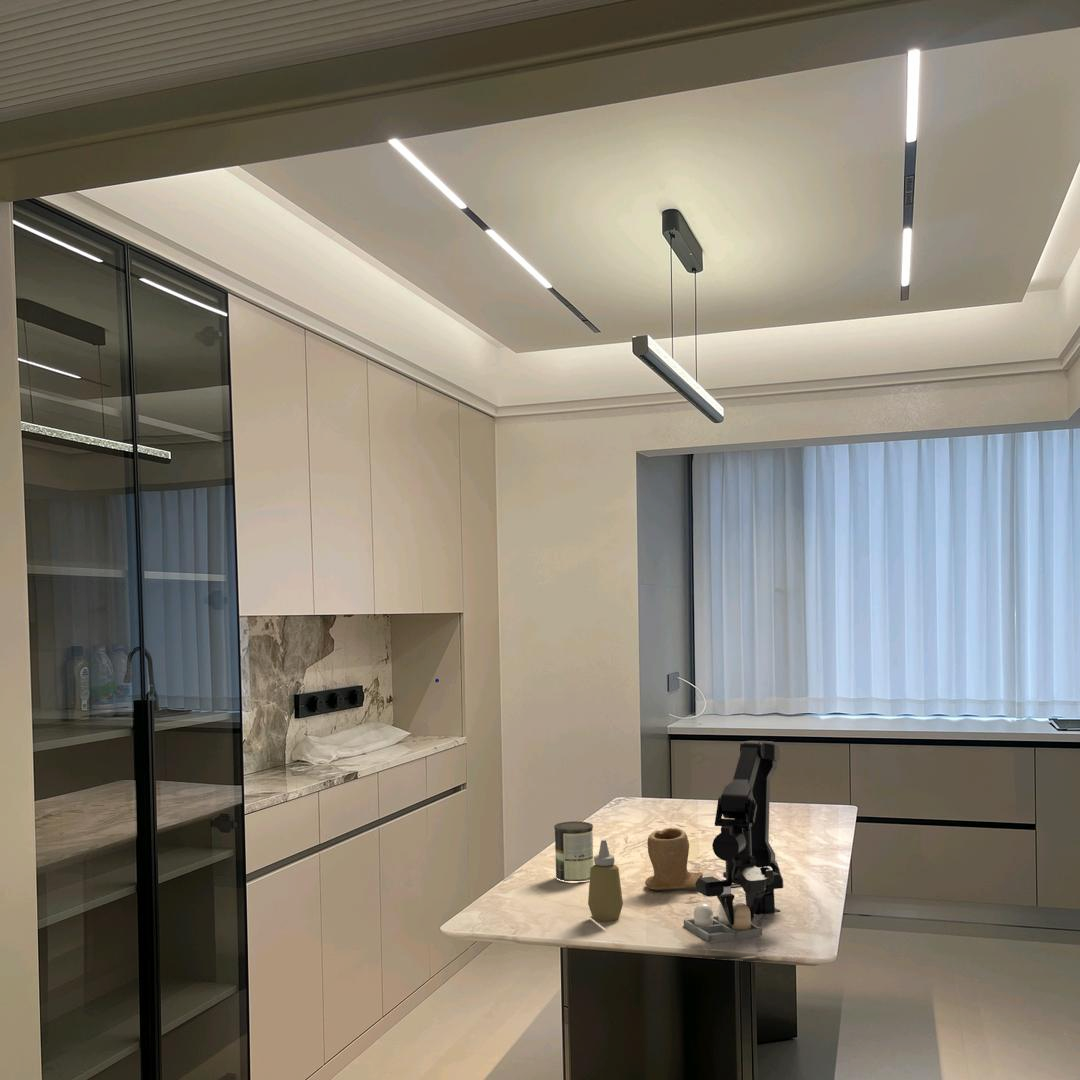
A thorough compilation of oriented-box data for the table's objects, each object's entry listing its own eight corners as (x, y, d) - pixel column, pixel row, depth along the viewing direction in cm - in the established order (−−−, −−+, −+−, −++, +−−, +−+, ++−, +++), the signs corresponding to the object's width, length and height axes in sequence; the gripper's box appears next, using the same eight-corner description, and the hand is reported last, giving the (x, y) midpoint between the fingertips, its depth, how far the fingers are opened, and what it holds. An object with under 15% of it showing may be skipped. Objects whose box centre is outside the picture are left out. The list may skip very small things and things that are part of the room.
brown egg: (728, 926, 233) (727, 902, 233) (745, 924, 234) (744, 900, 235) (737, 932, 229) (736, 907, 229) (754, 929, 230) (753, 904, 231)
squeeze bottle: (607, 912, 251) (605, 835, 252) (630, 920, 245) (628, 840, 246) (581, 919, 246) (579, 840, 247) (604, 927, 240) (602, 846, 241)
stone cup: (647, 896, 265) (645, 835, 266) (644, 883, 277) (642, 825, 278) (708, 895, 264) (706, 833, 265) (702, 882, 276) (700, 824, 277)
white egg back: (691, 926, 237) (690, 902, 237) (708, 924, 238) (707, 900, 238) (699, 932, 233) (698, 907, 233) (716, 929, 234) (715, 905, 234)
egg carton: (683, 928, 238) (683, 919, 238) (734, 921, 241) (734, 913, 242) (709, 944, 226) (709, 935, 226) (762, 937, 229) (762, 929, 230)
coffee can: (548, 880, 282) (546, 826, 283) (569, 872, 290) (568, 819, 291) (580, 885, 276) (579, 830, 277) (601, 877, 285) (600, 823, 286)
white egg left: (715, 923, 239) (714, 899, 239) (732, 921, 240) (731, 897, 240) (724, 928, 235) (723, 904, 235) (741, 926, 236) (740, 902, 236)
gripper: (716, 862, 222) (719, 939, 221) (795, 854, 228) (798, 928, 227) (693, 851, 233) (695, 924, 232) (768, 843, 239) (771, 914, 238)
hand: (741, 923), depth 232 cm, fingers closed on brown egg, 4 cm apart
